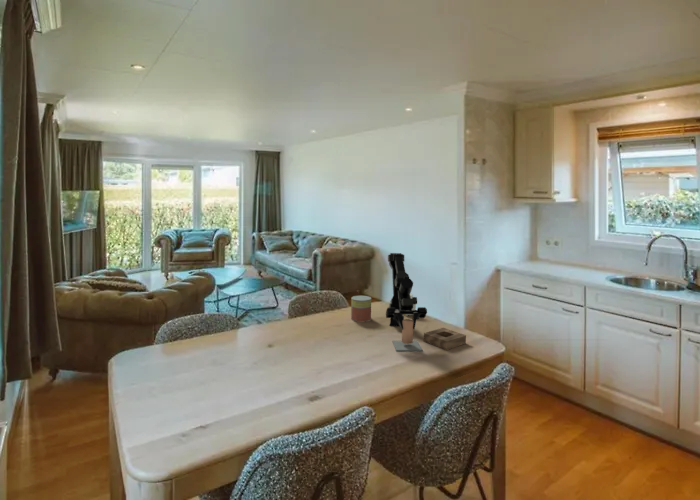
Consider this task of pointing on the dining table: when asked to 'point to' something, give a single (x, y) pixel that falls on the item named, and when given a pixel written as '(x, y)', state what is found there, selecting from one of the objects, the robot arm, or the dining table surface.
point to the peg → (407, 331)
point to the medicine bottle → (413, 306)
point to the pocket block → (444, 338)
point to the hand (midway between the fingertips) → (408, 329)
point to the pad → (407, 346)
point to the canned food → (361, 308)
